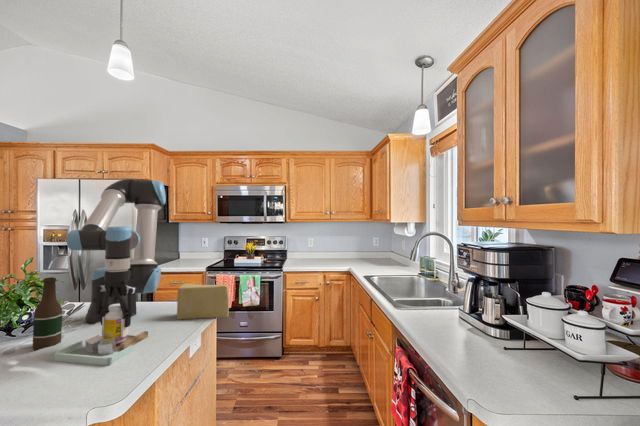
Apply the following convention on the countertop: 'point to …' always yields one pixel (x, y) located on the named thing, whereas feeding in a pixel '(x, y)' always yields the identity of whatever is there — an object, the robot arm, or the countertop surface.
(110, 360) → the tray
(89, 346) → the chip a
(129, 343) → the slot board
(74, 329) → the countertop surface
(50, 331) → the beer bottle
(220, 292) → the tan rectangular block
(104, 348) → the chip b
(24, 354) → the countertop surface
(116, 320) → the supplement bottle
